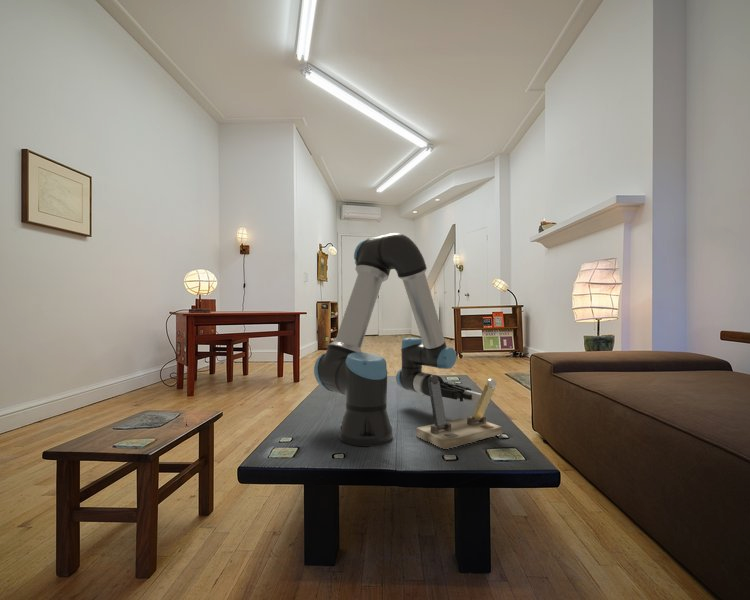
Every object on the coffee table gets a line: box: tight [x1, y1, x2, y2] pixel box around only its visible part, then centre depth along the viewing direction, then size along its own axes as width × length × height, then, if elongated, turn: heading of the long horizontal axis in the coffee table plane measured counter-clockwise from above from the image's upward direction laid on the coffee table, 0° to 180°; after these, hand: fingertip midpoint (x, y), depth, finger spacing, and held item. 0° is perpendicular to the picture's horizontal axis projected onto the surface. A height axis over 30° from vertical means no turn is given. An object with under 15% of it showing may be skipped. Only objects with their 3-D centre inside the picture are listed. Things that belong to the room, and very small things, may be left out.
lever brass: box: [471, 378, 498, 422], centre depth 108 cm, size 3×3×15 cm
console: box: [415, 415, 503, 449], centre depth 107 cm, size 12×22×4 cm, turn 122°
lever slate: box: [428, 374, 447, 430], centre depth 105 cm, size 3×3×15 cm
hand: (482, 399), depth 110 cm, fingers closed
